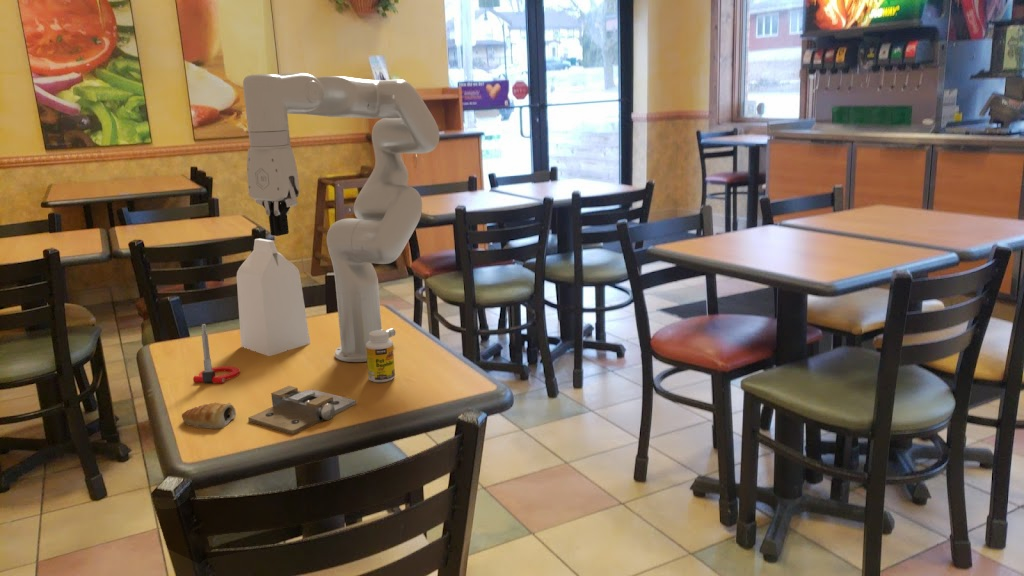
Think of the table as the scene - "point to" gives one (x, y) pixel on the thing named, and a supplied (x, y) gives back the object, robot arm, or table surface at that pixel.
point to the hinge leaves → (297, 409)
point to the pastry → (210, 415)
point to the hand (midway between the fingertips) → (279, 234)
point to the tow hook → (209, 372)
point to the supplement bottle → (380, 357)
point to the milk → (270, 302)
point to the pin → (322, 409)
